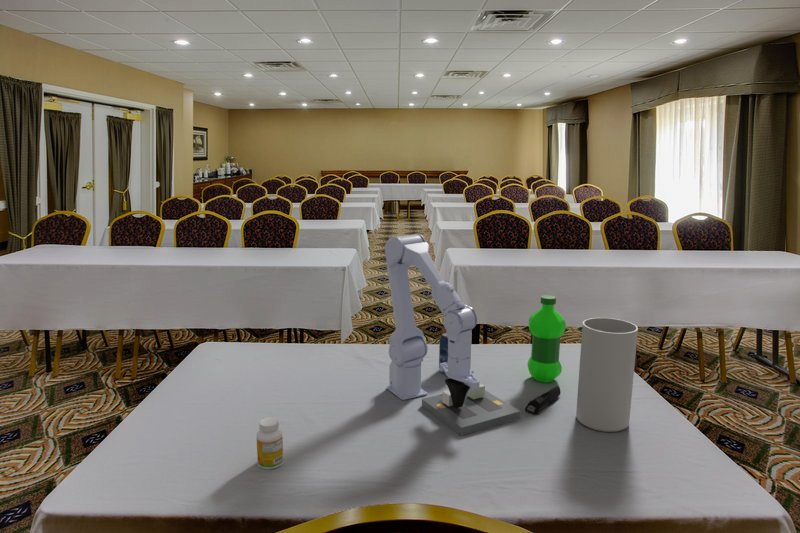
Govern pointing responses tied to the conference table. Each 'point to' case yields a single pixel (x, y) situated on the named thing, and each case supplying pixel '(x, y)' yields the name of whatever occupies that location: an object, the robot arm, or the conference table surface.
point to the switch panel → (472, 412)
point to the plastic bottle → (546, 341)
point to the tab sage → (477, 392)
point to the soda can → (443, 349)
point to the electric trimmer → (542, 400)
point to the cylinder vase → (606, 373)
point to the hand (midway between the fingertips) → (458, 406)
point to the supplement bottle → (269, 444)
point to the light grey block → (447, 398)
